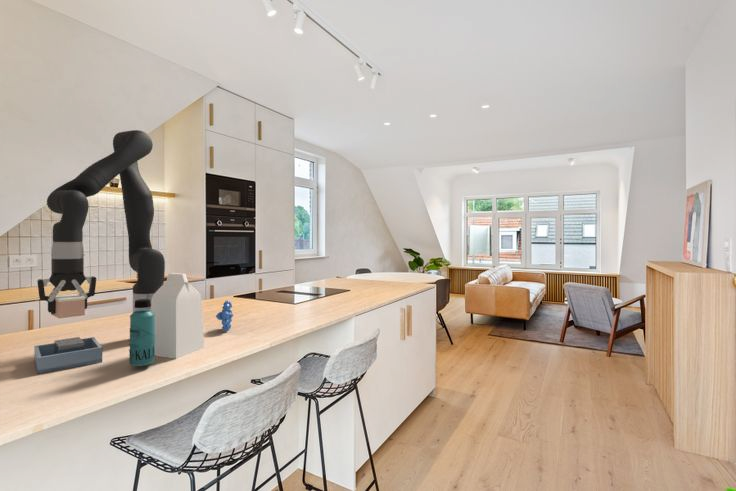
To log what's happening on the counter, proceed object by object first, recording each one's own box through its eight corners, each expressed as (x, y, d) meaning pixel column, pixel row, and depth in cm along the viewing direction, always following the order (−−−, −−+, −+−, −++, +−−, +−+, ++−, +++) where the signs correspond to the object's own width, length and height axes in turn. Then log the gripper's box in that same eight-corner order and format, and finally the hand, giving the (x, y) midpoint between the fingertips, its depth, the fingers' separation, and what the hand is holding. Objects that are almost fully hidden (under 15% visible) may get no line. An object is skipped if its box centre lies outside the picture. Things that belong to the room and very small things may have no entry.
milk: (148, 354, 120) (148, 274, 119) (177, 344, 130) (177, 271, 130) (176, 359, 115) (176, 276, 115) (204, 348, 126) (204, 272, 125)
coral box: (75, 311, 116) (75, 294, 116) (85, 315, 111) (85, 297, 111) (50, 314, 111) (50, 296, 111) (59, 318, 106) (59, 299, 106)
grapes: (217, 327, 155) (217, 298, 154) (234, 326, 157) (234, 298, 156) (213, 334, 144) (213, 303, 143) (232, 333, 145) (232, 303, 145)
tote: (93, 350, 122) (93, 337, 122) (102, 362, 112) (102, 347, 111) (34, 360, 112) (34, 345, 112) (37, 374, 101) (37, 358, 101)
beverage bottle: (136, 363, 111) (136, 297, 110) (159, 363, 111) (159, 297, 111) (124, 371, 104) (123, 301, 104) (148, 371, 105) (148, 301, 104)
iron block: (79, 352, 117) (79, 336, 117) (84, 358, 111) (84, 342, 111) (54, 357, 112) (54, 340, 112) (58, 363, 107) (58, 346, 107)
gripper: (95, 255, 118) (95, 307, 119) (34, 256, 108) (35, 313, 109) (99, 257, 113) (99, 311, 114) (36, 258, 103) (36, 317, 103)
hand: (67, 312), depth 111 cm, fingers closed on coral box, 6 cm apart
